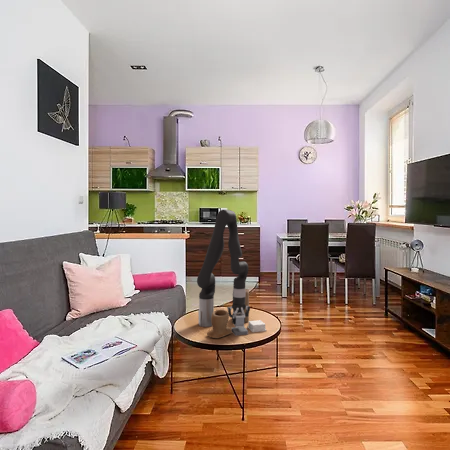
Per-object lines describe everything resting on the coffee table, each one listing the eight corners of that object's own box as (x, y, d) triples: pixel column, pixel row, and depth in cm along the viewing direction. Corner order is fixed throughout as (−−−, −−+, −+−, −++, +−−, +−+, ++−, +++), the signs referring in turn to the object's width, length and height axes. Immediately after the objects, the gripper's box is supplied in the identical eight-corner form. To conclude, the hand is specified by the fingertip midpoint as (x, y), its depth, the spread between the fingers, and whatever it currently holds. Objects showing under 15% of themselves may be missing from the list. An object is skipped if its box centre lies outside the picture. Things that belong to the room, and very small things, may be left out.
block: (248, 318, 236) (249, 288, 235) (248, 322, 226) (248, 292, 225) (234, 317, 236) (234, 288, 236) (232, 322, 227) (233, 291, 226)
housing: (236, 327, 203) (236, 315, 202) (232, 323, 211) (232, 311, 210) (244, 327, 204) (244, 314, 204) (240, 322, 212) (240, 310, 211)
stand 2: (252, 332, 208) (252, 325, 208) (247, 327, 217) (247, 320, 217) (266, 330, 211) (266, 324, 210) (261, 326, 219) (261, 319, 219)
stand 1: (235, 335, 203) (235, 332, 203) (231, 330, 211) (231, 327, 210) (248, 334, 205) (248, 330, 205) (243, 329, 213) (243, 326, 213)
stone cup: (217, 342, 193) (217, 315, 193) (204, 336, 202) (204, 310, 201) (237, 335, 203) (237, 310, 202) (223, 330, 212) (224, 305, 211)
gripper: (228, 297, 201) (228, 326, 202) (252, 296, 204) (251, 325, 205) (225, 294, 208) (225, 322, 209) (248, 293, 212) (248, 321, 213)
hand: (238, 323), depth 207 cm, fingers closed on housing, 5 cm apart
